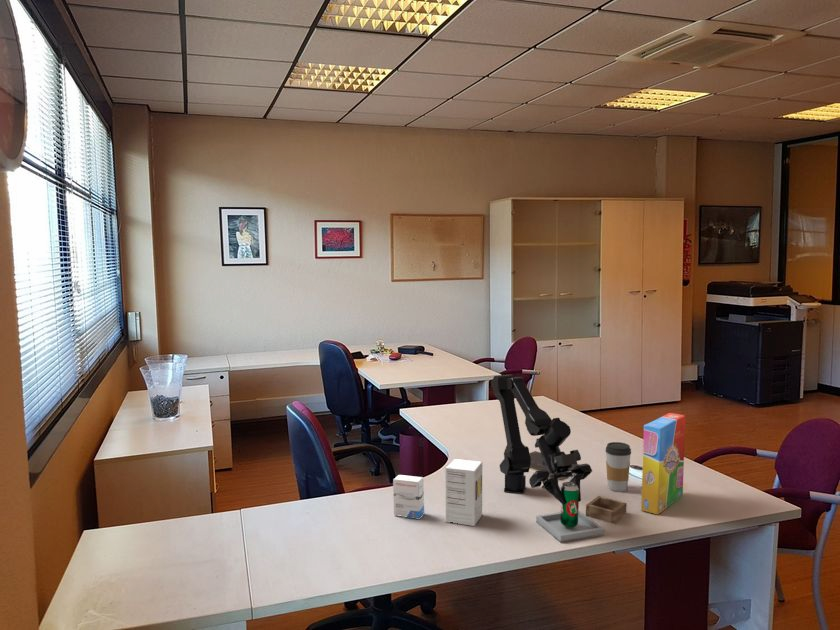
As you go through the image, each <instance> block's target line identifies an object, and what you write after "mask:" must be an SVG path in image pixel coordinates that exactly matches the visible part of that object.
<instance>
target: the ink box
mask: <svg viewBox="0 0 840 630" xmlns="http://www.w3.org/2000/svg"><path fill="white" fill-rule="evenodd" d="M392 480H393V481H392V488H393V516H394V515H401V516H407V517H414V518H420V517H421V516H422V515H423V516H424V514H425V491H424V489H425V487H424V486H425V485H424V483H425V481H424V480H425V479H424V477H423V476H416V475H415V476H413V475H404V474H398V475H397V476H395V478H393V479H392ZM423 513H424V514H423ZM423 516H422V517H423ZM422 517H421V518H422ZM421 518H420V519H421Z"/></svg>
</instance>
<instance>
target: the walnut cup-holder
mask: <svg viewBox="0 0 840 630" xmlns="http://www.w3.org/2000/svg"><path fill="white" fill-rule="evenodd" d="M627 507H628V506H627V502H625V501H621V500H617V499H612V498H609V497H608V498H607V497H605V496H601V495H598V496H596V497H595V498H593V499H592V500H591V501H590V502H588V503H586V504H585V515H586V516H587V517H589V518H590V519H596V520H599V521H603V522H606V523H610V524H614V525H615V524H616V523H617V522H618V521H620V520H621V519H622V518H623V517H624V515H625V516H626V515H627Z"/></svg>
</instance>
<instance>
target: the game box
mask: <svg viewBox="0 0 840 630" xmlns="http://www.w3.org/2000/svg"><path fill="white" fill-rule="evenodd" d="M685 434H686V415H685V414H679V413H673V412H668V413H667V414H664V415H662V416H661V417H658V418H657V419H655V420H653V421H651V422H648V423H646V424H644V425H643V441H642V442H643V444H642V448H643V449H642V451H643V452H642V474H641V475H642V476H641V499H640V500H641V502H640V503H641V505H640V510H641V511H643V512H646V513H650V514H654V515H659V514H661V513H662V512H663V511H665V510H666V509H668V507H670V506H672V505H673V504H674V503H676V502H677V501H678V500H679V499H681V498H682V497H683V494H684V470H685V469H684V467H685V466H684V465H685V464H684V463H685V442H686V441H685V438H686V435H685Z"/></svg>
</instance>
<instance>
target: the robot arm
mask: <svg viewBox="0 0 840 630" xmlns="http://www.w3.org/2000/svg"><path fill="white" fill-rule="evenodd" d="M490 387H491V389H492V392H493V396H495V398H496V399H497V400H498V401H499V404H500V411H501V415H502V423H503V427H504V428H503V429H504V433H505V438H506V445H505V446H506V447H505V449H504V452H503V459H502V461H501V462H500V464H499V471H500V473H502V474H504V490H503V493H510V494H511V493H512V494H513V493H514V494H524V492H525V490H526V487H527V483H526V482H527V481H526V479H527V478H526V475H525V473H529V472H530V471H529V469H530V464H531V457H530V454H529V453H530V448H529V447H528V446H527V445H525V444H524V443H523V441H522V436H521V432H520V426H519V420H518V415H517V408H516V404H515V399H516V401H517V404H518V406H519V407H520V409H521V410H522V411H521V412H522V413H523V415H524V416H525V421H524V424H525V425H524V426H525V427H526V430H527V432H528V433H529V435H530V436H533V437H537V436H540V437H539V438H536V439H535V443H534V447H535V448H536V449H537V448H538V449H539V452H541V454H542V457H543V459H544V461H543V462H542V463H543V465H546V466H547V469H548V471H549V472H548V471H547V470H541V471H536V472H533V474H532V475H531V476H530V477H529V485H530V487H531V488H532V489H534V488H539V487H541V489H544V490H545V491H547V492H548V493H549V494H551V495H552V496H553V497H554V498H555V499H556V500H558V502H559V503H560V504H561V503H562V504H563V505H564V504H565V500H564V497H563V495H562V492H561V487H560V485H559V480H558V479H560V478H562V479H566V478H568V482H574V483H576V484H577V485H578V488H579V503H581V501H582V497H581V494H582V493H581V481H582V480H585V479H586V478H588V476H590V474H591V473H593V469H592V467H591V465H590V464H588V463H581V464H579V465H577V466H576V467H575V468H574V469H573V470H569V468H571V467H572V464H578V462H579V461H582V460H581V459H582V456H581V453H580V451H579V449H573V450H570V451H569V453H565V451H561V449H560V446H562V444H563V443H565V441H566V440H567V439H568V437H570V435H571V432H572V431H571V430H572V429H571V427H570V426H569V424H567V423H566V422H565V421H564V420H563V421H562V420H561V418H560V417H553V418H551V417H550V415H549V414H548V413H547V412H546V411H545V410H543V409H541V408H540V407H539V405H538V404H537V402H536V400H535V399H534V397H533V396H532V394H531V392H530V390H529V389H528V386H527V385H526V381H525V378H523V377H522V376H514V375H513V374H502V375H494V376H493V378H492V379H491V381H490ZM560 480H561V479H560Z"/></svg>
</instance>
